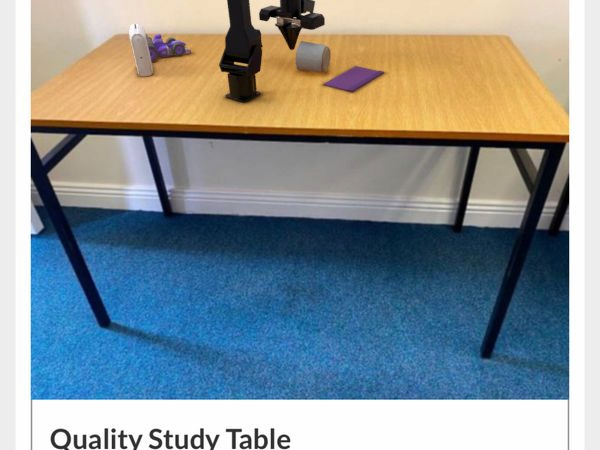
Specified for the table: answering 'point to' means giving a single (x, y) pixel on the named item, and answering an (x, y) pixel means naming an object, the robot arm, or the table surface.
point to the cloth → (353, 79)
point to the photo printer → (140, 50)
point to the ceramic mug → (312, 57)
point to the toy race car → (165, 47)
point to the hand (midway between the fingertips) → (292, 49)
